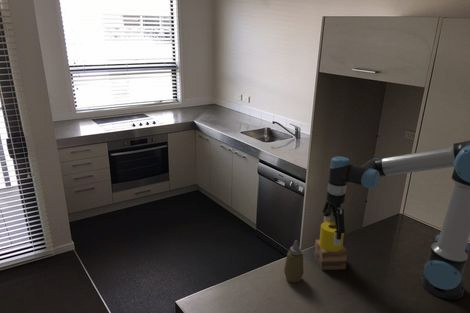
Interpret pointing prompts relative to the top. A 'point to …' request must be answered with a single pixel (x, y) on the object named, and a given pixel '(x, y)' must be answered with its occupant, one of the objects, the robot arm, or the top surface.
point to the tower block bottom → (329, 263)
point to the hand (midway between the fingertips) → (331, 236)
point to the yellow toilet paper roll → (329, 237)
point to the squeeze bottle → (294, 264)
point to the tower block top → (330, 253)
